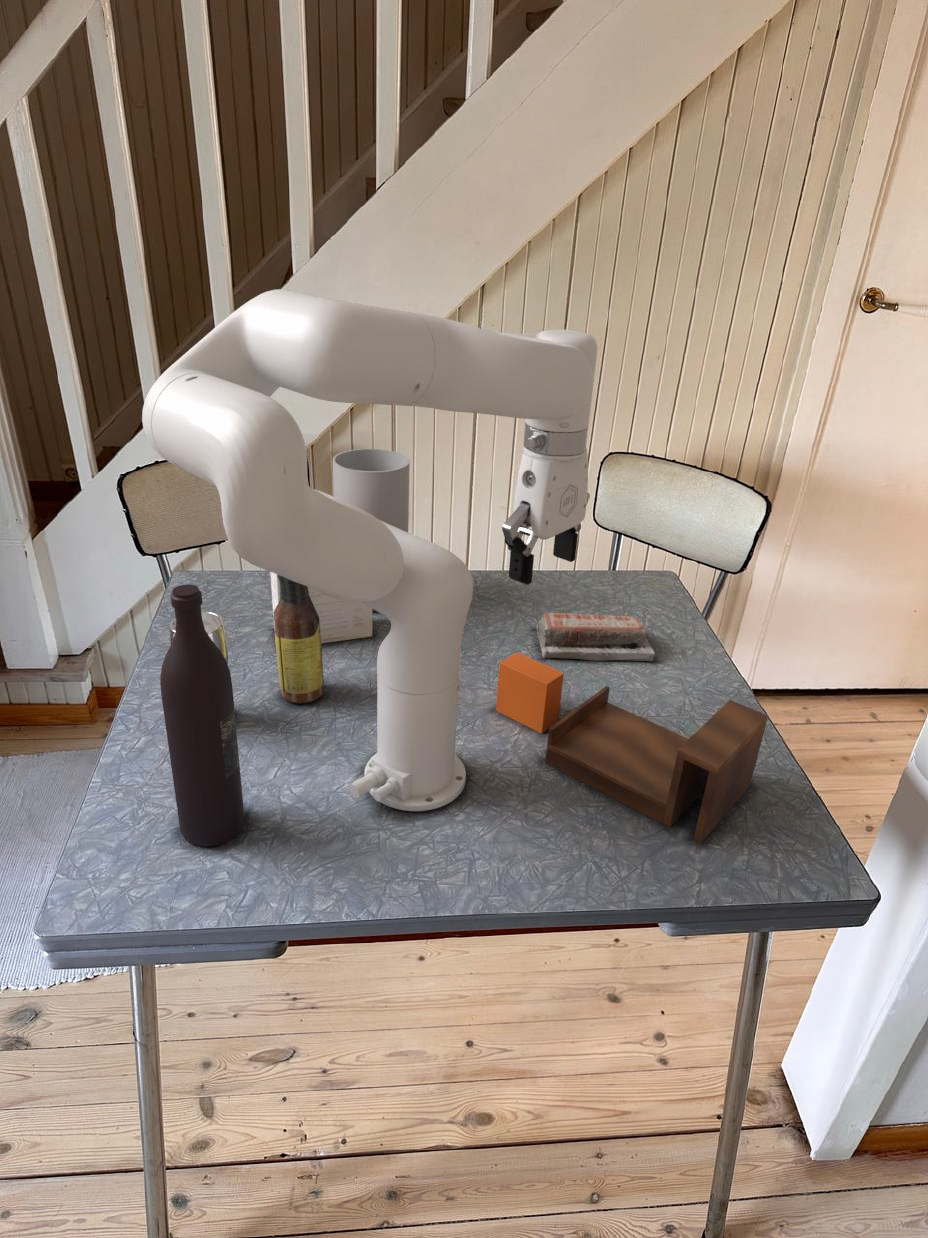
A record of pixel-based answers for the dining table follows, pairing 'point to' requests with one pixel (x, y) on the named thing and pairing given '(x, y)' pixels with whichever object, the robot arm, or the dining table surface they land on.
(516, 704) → the block
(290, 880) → the dining table surface
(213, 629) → the beer glass
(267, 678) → the dining table surface
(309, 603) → the sauce bottle
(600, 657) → the packaged product
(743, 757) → the shelf
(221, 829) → the wine bottle
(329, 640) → the coffeecake box
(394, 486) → the cylinder vase
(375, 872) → the dining table surface
